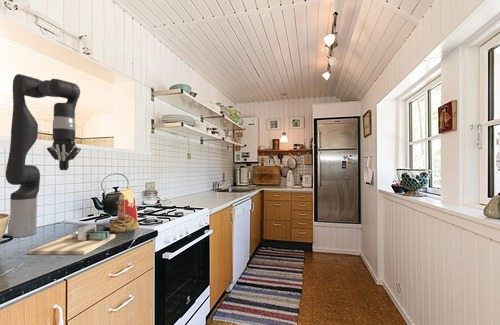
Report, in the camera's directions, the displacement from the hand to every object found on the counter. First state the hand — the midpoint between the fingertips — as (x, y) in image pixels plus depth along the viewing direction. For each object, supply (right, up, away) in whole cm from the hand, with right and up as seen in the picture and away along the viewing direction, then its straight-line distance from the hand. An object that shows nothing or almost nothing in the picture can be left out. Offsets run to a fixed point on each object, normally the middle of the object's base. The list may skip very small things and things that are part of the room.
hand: (63, 170), depth 100 cm
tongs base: (+9, -30, +3) cm, 31 cm away
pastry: (+13, -32, +25) cm, 42 cm away
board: (+6, -31, -1) cm, 32 cm away
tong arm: (+10, -29, +1) cm, 31 cm away
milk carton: (+5, -32, +41) cm, 52 cm away
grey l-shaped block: (+8, -29, +3) cm, 30 cm away
